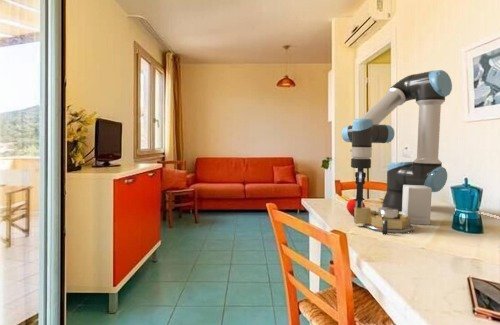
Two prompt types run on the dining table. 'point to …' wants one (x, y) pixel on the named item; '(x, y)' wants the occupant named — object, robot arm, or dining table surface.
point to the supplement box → (417, 203)
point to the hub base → (388, 214)
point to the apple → (352, 206)
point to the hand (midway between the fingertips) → (358, 216)
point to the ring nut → (379, 219)
